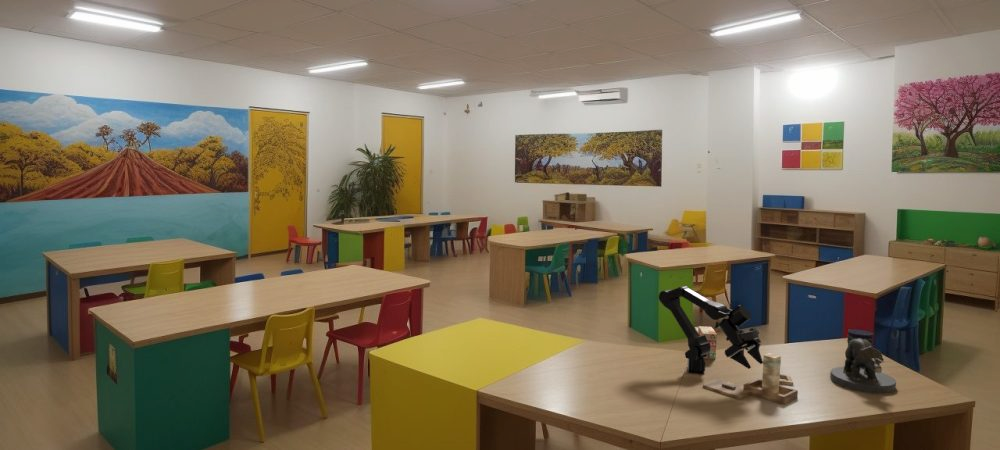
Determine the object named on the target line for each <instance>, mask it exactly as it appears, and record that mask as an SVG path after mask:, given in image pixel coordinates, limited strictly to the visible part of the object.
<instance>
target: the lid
mask: <svg viewBox="0 0 1000 450" xmlns="http://www.w3.org/2000/svg"><path fill="white" fill-rule="evenodd" d="M743 387H744V386H742V385H738V384H736V383H732V382H728V381H726V380H723V379H719V378H717V379H714V380H711V381H709V382H706V383H703V384H702V388H704V389H707V390H710V391H713V392H716V393H719V394H722V395H725V396H728V397H731V398H734V399H737V400H742V399H744V398H746V397H749V396H752V395H751V392H750V391H747V390H743Z"/></svg>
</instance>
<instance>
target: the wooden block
mask: <svg viewBox="0 0 1000 450" xmlns="http://www.w3.org/2000/svg"><path fill="white" fill-rule="evenodd" d="M781 358H782V356H781V355H779V354H775V353H772V352H769V353H766V354H763V357H762V361H763V363H762V376H761V377H762V378H761V380H762V389H763V390H766V391H769V392H772V393H775V394H779V385H780V384H779V380H781V378H780V374H781V363H782V362H781V361H782V359H781Z"/></svg>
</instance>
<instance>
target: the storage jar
mask: <svg viewBox="0 0 1000 450" xmlns="http://www.w3.org/2000/svg"><path fill="white" fill-rule="evenodd" d="M858 338H861V339H864V340H867V341H869V342H870V343H871V345H872V346H873V345H874V333H873V331H870V330H865V329H860V328H850V329H848V330H847V346H848V345H849V342H850V341H851V340H852V339H858ZM853 362H854V360H853ZM852 366H853V364H852ZM852 366H851V367H852ZM859 367H860V368H865V367H863V366H859Z"/></svg>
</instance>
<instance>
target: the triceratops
mask: <svg viewBox="0 0 1000 450" xmlns="http://www.w3.org/2000/svg"><path fill="white" fill-rule="evenodd" d="M844 353H845V361H844V365H843V366H837V367H833V368H832V369H831V370H830V373H829V374H830V375H829V378H830V380H831V381H832V382H833V383H835V384H836V385H838V386H840V387H843V388H845V389H849V390H852V391H856V392H857V391H858V392H861V393H867V394H868V393H869V394H890V393H892V392H895V391H896V388H897V387H896V385H897V380H896V379H895V378H894V377H893V376H891V375H889V374H887V373H884V372H882V370H883V368H882V367H881V365H880V364H882V363H885V361H884V360H885V359H884V357H883V354H882V351H880V350H879V349H877V348H875V347H873V345H871V343H870V342H869V341H867V340H864V339H861V338H858V339H852V340H851V341H850V342H849V345H848V344H847V347H846V349H845V351H844ZM853 360H854V362H853ZM852 364H853V366H852ZM859 366H863V367H865V368H861V367H859Z"/></svg>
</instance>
